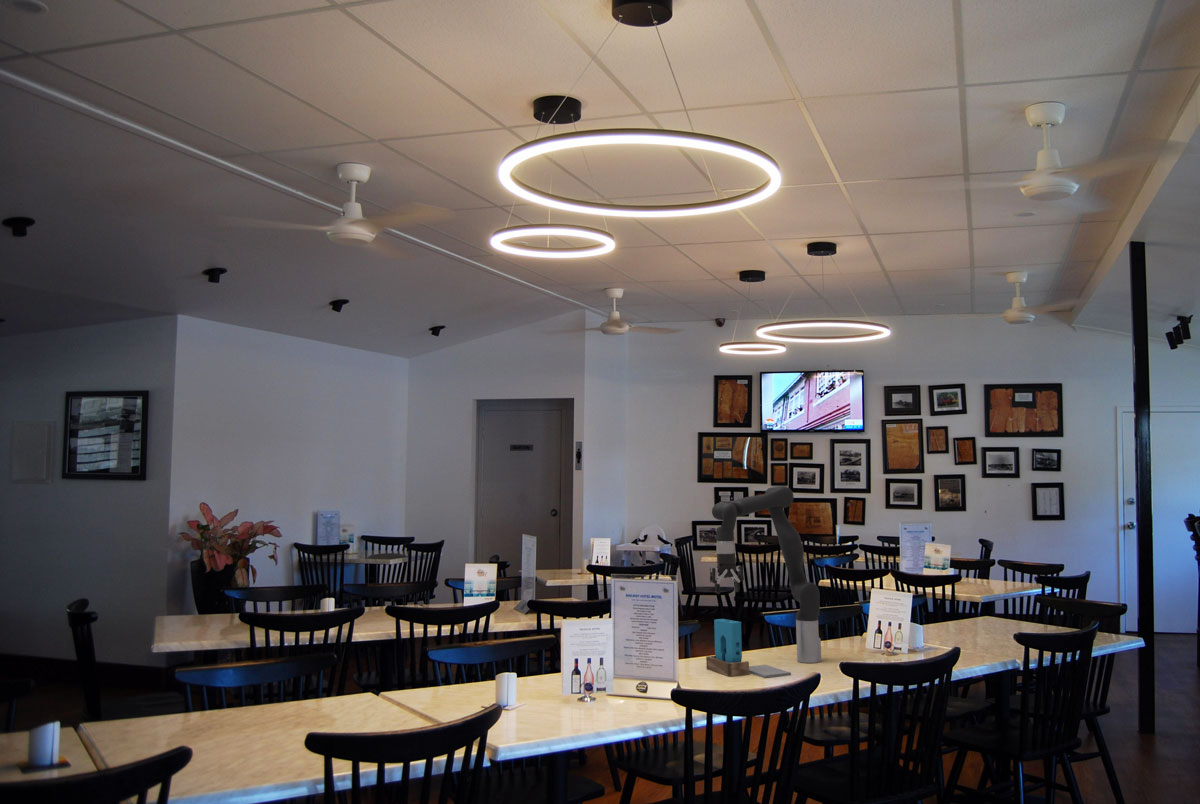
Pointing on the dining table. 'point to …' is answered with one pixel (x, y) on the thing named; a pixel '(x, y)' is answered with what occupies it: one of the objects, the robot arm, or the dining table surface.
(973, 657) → the dining table surface
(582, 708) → the dining table surface
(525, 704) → the dining table surface
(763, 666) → the slate pad
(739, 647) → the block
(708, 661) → the walnut stall
